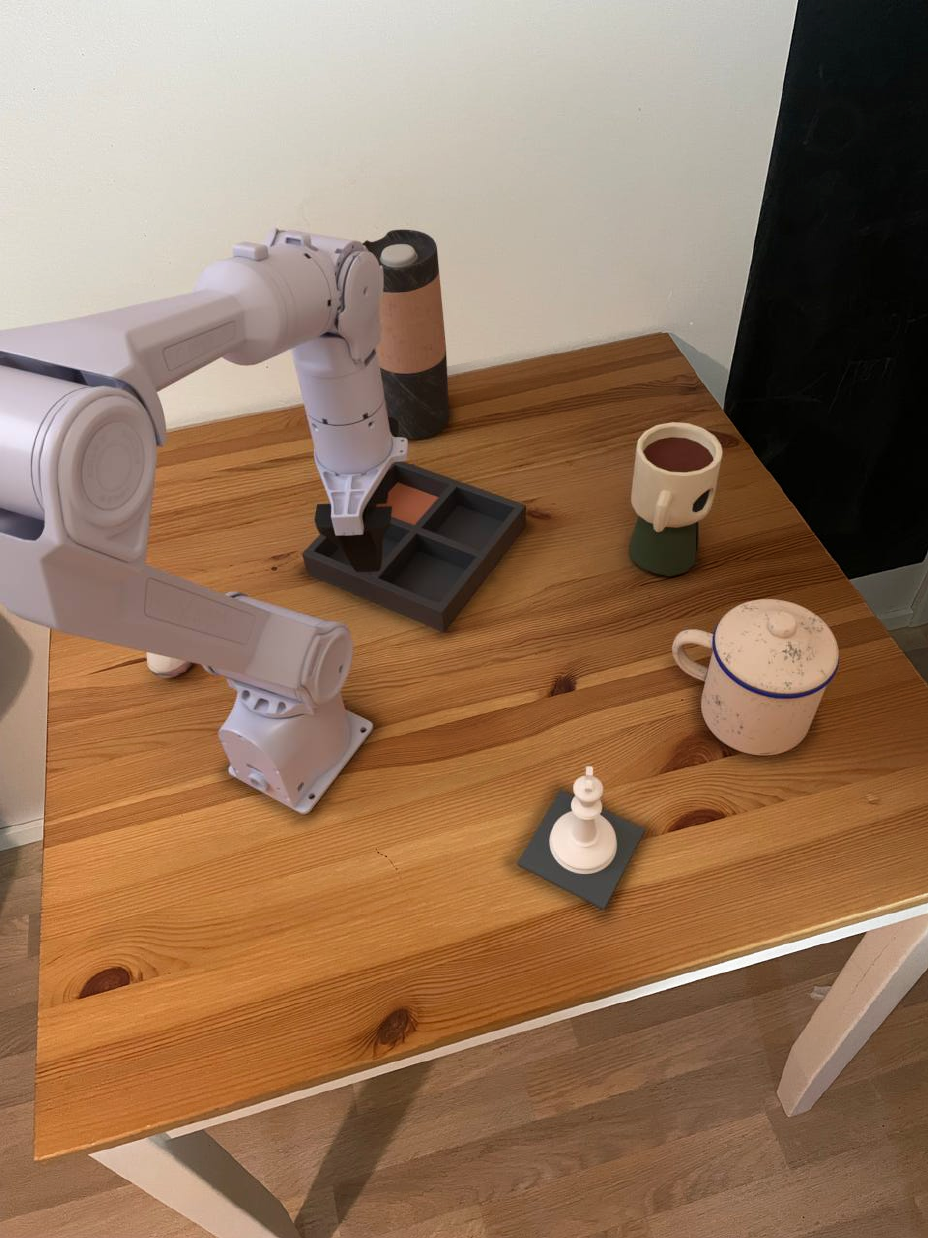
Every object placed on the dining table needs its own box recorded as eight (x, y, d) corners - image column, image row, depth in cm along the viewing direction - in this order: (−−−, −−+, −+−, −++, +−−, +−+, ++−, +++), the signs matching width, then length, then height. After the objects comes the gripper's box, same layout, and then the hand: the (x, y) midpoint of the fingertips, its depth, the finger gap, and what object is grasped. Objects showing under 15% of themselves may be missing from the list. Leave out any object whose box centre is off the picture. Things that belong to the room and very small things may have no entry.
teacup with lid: (824, 689, 76) (862, 596, 67) (797, 777, 71) (834, 688, 62) (683, 643, 80) (701, 549, 71) (647, 723, 75) (663, 632, 66)
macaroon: (168, 691, 80) (159, 673, 78) (135, 661, 82) (126, 644, 80) (208, 661, 82) (200, 643, 80) (175, 633, 84) (166, 615, 82)
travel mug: (445, 443, 99) (429, 270, 84) (376, 439, 101) (348, 267, 85) (456, 400, 104) (444, 229, 89) (390, 397, 105) (367, 227, 90)
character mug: (686, 606, 83) (708, 499, 73) (609, 587, 85) (620, 480, 75) (712, 526, 89) (735, 417, 79) (640, 510, 91) (653, 401, 81)
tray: (444, 632, 82) (442, 612, 80) (307, 573, 88) (301, 553, 86) (526, 526, 91) (526, 504, 88) (395, 478, 96) (392, 457, 94)
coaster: (604, 910, 65) (604, 908, 65) (517, 865, 68) (517, 863, 67) (644, 831, 69) (645, 829, 69) (560, 791, 71) (560, 789, 71)
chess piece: (617, 815, 69) (627, 743, 62) (616, 877, 66) (627, 809, 59) (551, 810, 70) (554, 738, 62) (547, 871, 67) (549, 802, 59)
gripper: (394, 466, 61) (415, 599, 71) (405, 337, 70) (423, 472, 80) (288, 470, 61) (325, 602, 72) (313, 341, 70) (343, 475, 81)
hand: (371, 533), depth 76 cm, fingers open, 7 cm apart
